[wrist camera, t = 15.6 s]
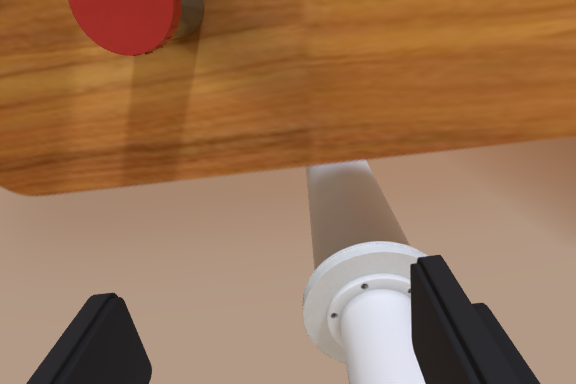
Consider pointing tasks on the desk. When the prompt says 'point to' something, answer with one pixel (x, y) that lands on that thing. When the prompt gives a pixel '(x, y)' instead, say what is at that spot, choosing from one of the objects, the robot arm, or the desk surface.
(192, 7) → the jam jar
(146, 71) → the desk surface
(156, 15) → the jam lid
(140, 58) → the desk surface
